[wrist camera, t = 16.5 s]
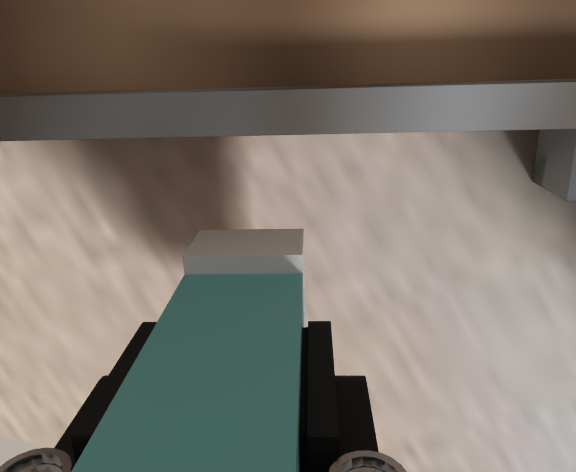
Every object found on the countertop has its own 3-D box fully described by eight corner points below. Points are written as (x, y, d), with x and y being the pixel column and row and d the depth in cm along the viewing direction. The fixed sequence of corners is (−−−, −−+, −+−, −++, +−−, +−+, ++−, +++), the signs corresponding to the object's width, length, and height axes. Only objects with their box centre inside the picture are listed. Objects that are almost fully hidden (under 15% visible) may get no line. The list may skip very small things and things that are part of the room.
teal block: (303, 228, 14) (290, 554, 5) (306, 377, 16) (300, 830, 7) (199, 230, 15) (-4, 548, 5) (212, 377, 16) (78, 820, 7)
